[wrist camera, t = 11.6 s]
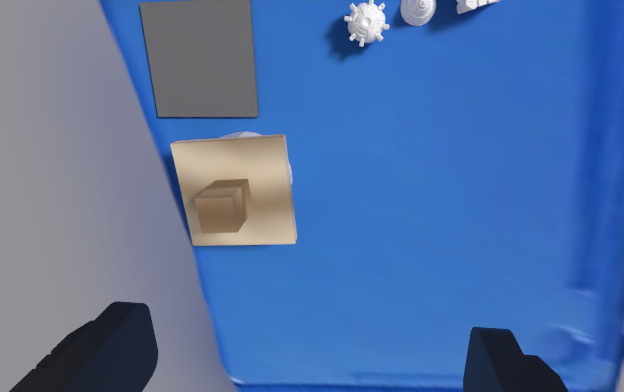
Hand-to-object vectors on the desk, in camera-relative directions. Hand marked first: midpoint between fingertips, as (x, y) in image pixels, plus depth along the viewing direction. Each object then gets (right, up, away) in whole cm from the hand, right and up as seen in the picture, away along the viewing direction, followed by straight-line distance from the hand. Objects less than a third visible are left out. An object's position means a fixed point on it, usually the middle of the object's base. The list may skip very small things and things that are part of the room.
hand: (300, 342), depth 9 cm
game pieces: (+9, +19, +22) cm, 31 cm away
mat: (-10, +16, +26) cm, 32 cm away
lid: (-7, +4, +26) cm, 27 cm away
